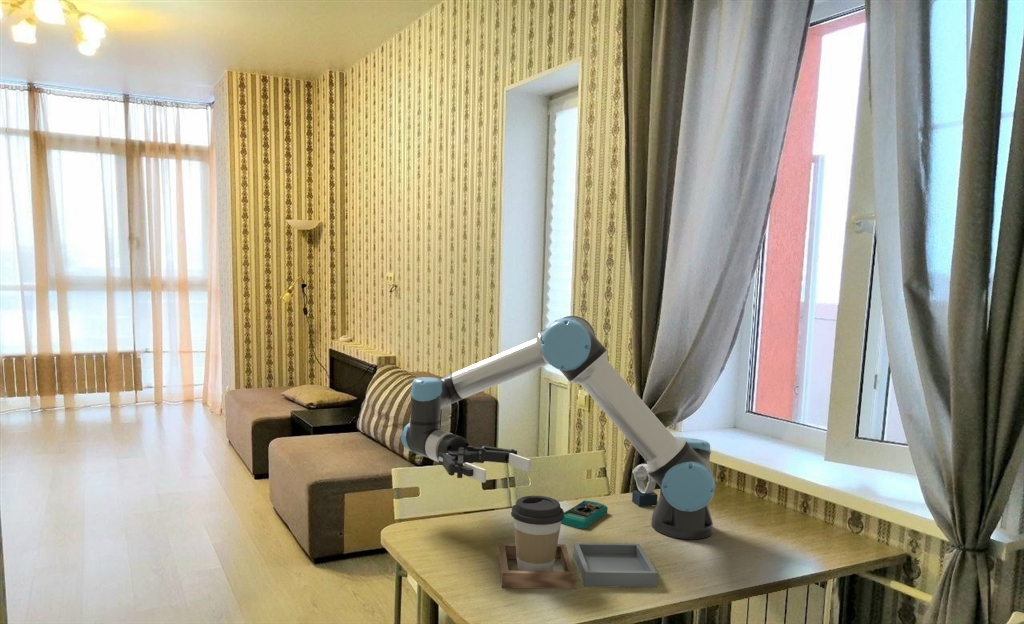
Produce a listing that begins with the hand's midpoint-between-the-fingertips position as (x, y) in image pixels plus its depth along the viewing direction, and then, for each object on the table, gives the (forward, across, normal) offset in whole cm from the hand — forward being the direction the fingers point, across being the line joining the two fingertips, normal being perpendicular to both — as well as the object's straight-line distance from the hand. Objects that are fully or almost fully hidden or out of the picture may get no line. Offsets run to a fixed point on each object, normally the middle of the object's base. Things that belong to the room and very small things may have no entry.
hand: (508, 470), depth 151 cm
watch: (-2, -55, -19) cm, 59 cm away
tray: (+20, -14, -19) cm, 31 cm away
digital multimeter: (-5, -33, -20) cm, 39 cm away
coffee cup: (+10, 0, -20) cm, 22 cm away
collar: (+10, 0, -19) cm, 22 cm away
